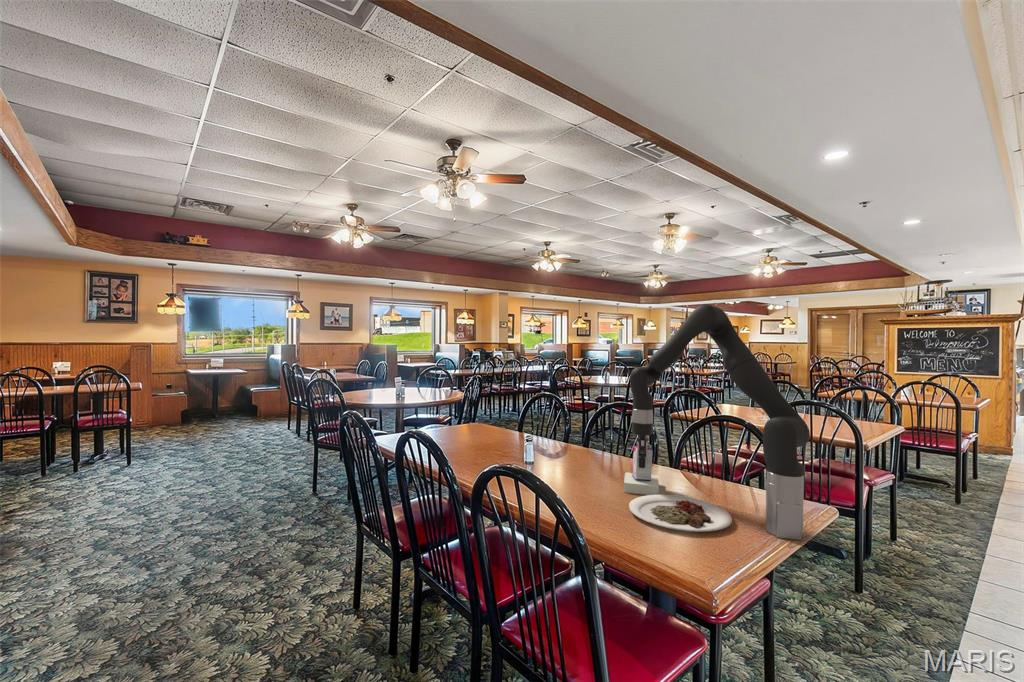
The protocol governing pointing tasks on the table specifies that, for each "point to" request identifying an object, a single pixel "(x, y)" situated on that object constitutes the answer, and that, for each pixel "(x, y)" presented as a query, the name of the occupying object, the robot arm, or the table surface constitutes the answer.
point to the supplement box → (642, 473)
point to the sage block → (641, 485)
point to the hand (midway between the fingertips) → (641, 464)
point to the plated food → (680, 513)
